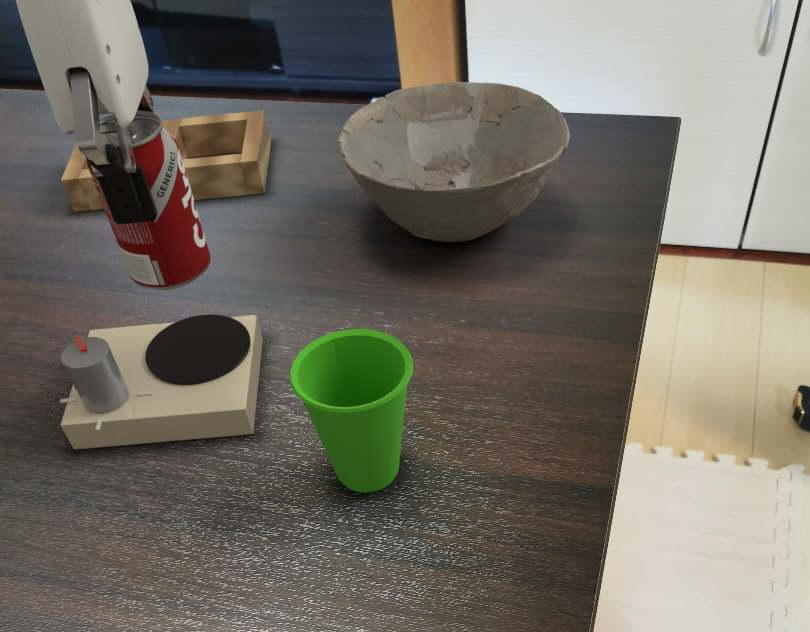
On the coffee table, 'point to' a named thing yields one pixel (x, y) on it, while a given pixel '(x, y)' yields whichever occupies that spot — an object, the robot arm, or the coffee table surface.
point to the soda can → (159, 211)
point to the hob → (166, 397)
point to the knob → (95, 374)
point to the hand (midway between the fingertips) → (144, 192)
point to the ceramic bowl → (454, 155)
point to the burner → (198, 349)
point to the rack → (202, 173)
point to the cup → (356, 402)
